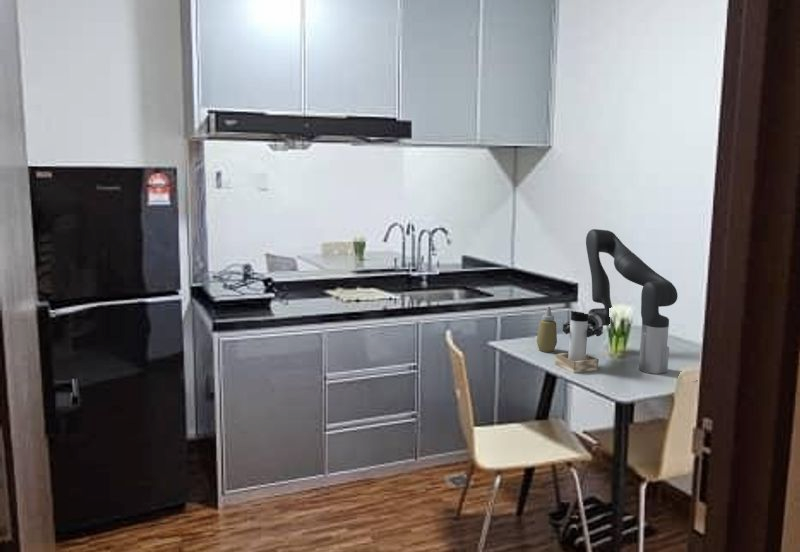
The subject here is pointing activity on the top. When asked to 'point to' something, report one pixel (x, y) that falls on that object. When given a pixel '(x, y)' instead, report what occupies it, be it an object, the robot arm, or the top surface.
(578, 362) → the birch dock
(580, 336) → the travel mug
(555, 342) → the squeeze bottle
